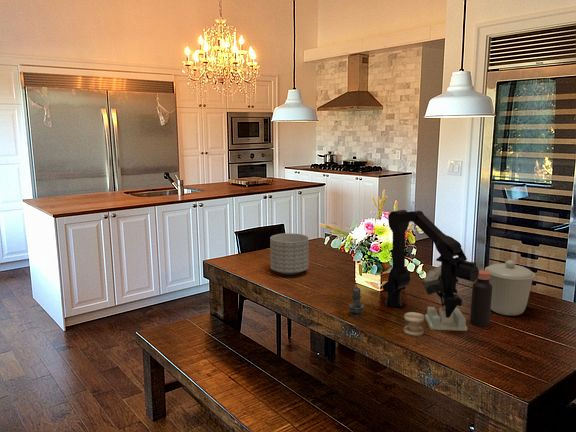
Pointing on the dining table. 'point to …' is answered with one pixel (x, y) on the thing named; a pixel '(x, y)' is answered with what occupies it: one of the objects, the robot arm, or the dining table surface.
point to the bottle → (481, 299)
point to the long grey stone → (432, 274)
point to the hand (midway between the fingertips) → (445, 314)
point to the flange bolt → (356, 303)
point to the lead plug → (443, 316)
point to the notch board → (436, 324)
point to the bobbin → (414, 323)
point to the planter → (289, 253)
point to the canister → (509, 287)
